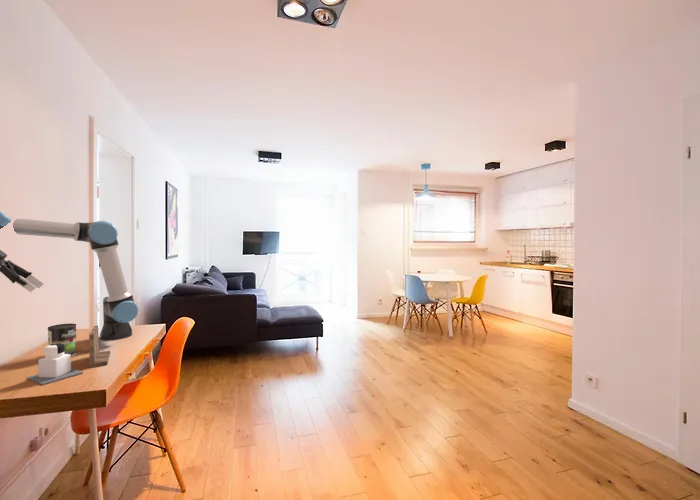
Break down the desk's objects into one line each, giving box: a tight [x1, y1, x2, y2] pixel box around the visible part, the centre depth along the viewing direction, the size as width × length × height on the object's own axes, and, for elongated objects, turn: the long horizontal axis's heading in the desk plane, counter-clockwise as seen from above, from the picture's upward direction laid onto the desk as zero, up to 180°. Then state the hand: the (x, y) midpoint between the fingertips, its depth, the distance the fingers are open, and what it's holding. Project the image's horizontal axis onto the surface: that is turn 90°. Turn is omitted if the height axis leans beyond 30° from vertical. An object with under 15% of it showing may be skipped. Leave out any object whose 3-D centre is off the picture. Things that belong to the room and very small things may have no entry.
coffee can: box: [47, 323, 78, 357], centre depth 161 cm, size 10×10×14 cm
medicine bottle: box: [38, 343, 72, 378], centre depth 137 cm, size 7×7×12 cm
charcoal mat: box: [26, 367, 84, 386], centre depth 137 cm, size 13×13×1 cm
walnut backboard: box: [88, 325, 111, 368], centre depth 155 cm, size 18×6×14 cm, turn 31°
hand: (37, 287), depth 154 cm, fingers open, 13 cm apart
